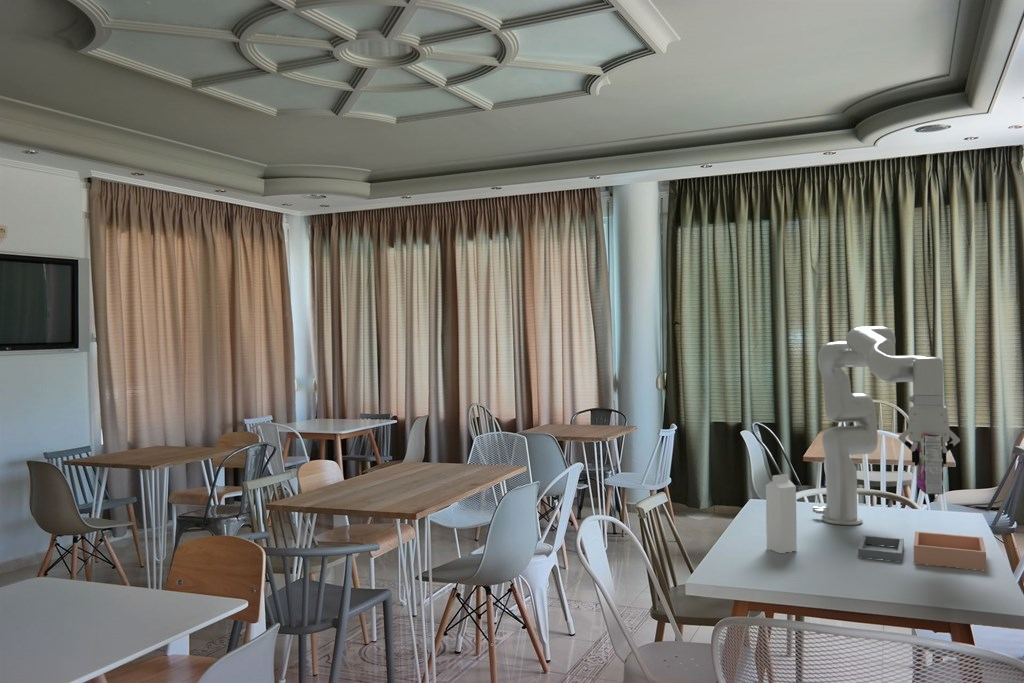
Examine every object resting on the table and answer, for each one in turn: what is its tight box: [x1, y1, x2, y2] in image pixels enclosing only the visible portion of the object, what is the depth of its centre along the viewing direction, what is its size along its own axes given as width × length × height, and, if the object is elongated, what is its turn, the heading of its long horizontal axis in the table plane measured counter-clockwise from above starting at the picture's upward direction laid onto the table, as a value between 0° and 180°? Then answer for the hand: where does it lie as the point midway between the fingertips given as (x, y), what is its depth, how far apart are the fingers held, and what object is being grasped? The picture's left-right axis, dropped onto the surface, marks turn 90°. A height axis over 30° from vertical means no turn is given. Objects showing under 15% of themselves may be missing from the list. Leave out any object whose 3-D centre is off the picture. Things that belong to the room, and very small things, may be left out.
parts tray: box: [857, 534, 905, 563], centre depth 231 cm, size 11×17×2 cm, turn 152°
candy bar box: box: [915, 433, 944, 495], centre depth 225 cm, size 11×5×16 cm, turn 165°
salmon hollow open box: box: [913, 531, 987, 572], centre depth 223 cm, size 17×17×5 cm
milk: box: [765, 473, 798, 554], centre depth 235 cm, size 6×6×22 cm
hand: (929, 465), depth 225 cm, fingers closed on candy bar box, 5 cm apart
